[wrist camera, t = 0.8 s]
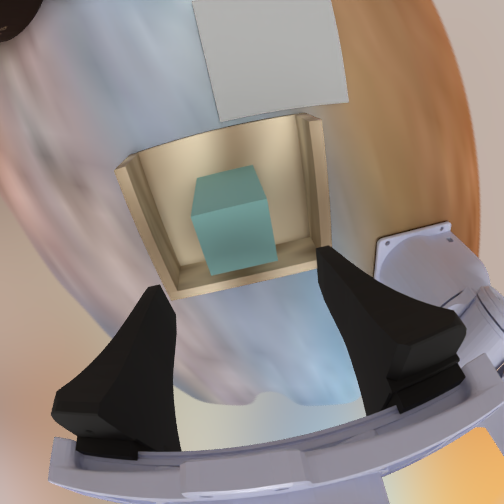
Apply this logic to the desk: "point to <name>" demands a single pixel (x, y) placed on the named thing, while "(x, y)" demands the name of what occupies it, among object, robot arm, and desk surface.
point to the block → (233, 220)
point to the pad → (271, 55)
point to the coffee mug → (16, 16)
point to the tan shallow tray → (222, 159)
